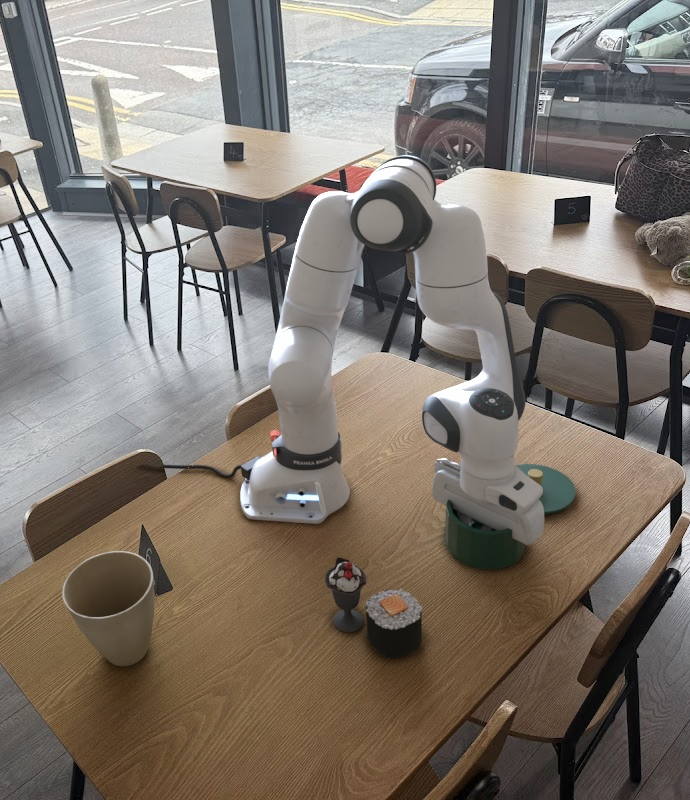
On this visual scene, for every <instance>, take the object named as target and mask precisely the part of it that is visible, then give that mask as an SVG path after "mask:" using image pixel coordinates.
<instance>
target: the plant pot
mask: <svg viewBox="0 0 690 800" xmlns="http://www.w3.org/2000/svg"><path fill="white" fill-rule="evenodd" d="M154 580H155V579H154V572H153V568H152V566H151V564H150V563H149V562H148V560H147V559H145V558H144V557H143V556H141V555H140V554H137V553H135V552H131V551H125V550H113V551H107V552H102V553H99V554H96V555H93V556H91V557H89V558H87V559H85V560H84V561H82V562H80V563H79V564H78V565H77V566H75V567H74V568H73V569H72V571H71V572H70V573H69V574H68V575H67V577H66V578H65V581H64V583H63V586H62V589H61V596H62V597H61V598H62V601H63V603H64V605H65V607H66V609H67V611H68V613H69V614H70V616H71V618H72V619H73V621H74V622H75V624H76V625H77V627H78V629H79V630H80V632H81V633H82V635H84V637H85V638H86V640H88V642H89V643H90V644H91V645H92V646H93V647H94V649H95V650H96V651H97V652H98V653H100V655H101V656H102V657H104V658H105V659H106V660H107V661H108V662H109V663H111V664H112V665H114V666H117V667H129V666H132V665H135V664H137V663H139V662H140V661H141V660H142V659H143V658H144V657H146V654H147V653H148V650H149V646H150V642H151V639H152V632H153V626H154V618H155V616H154V615H155V586H154V585H155V584H154V583H155V582H154Z"/></svg>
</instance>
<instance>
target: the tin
mask: <svg viewBox="0 0 690 800" xmlns="http://www.w3.org/2000/svg"><path fill="white" fill-rule="evenodd" d="M471 520H473V521H475V528H472V527H470V526H468V525H466V524H464V523H462V522H461V520H460V518H459V516H458V515H457V511H456V510H454V509H452V501H450V500H448V501H447V503H446V505H445V524H444V525H445V528H444V531H445V532H444V539H445V545H446V547H447V550H448V552H449V553H450V554H451V555H452V556H453V557H454V558H455V559H457V560H458V561H459V562H461V563H462V564H464V565H467V566H469V567H472V568H476V569H481V570H501V569H505V568H508V567H511V566H513V565H514V564H516V563H517V562H519V561H520V560H521V558H523V556H524V554H525V551H526V550H525V549H526V546H527V545H526V544H524V543H522V542H520V541H518V540H516V539H513V538H512V531H513V530H511V529H509V528H507V529H504V530H496V531H486V530H481V529H480V528H481V527H482V526H483V525H484V524H483V523H481V522H478V521H476V520H474V519H472V518H471Z"/></svg>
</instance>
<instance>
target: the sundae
mask: <svg viewBox="0 0 690 800" xmlns="http://www.w3.org/2000/svg"><path fill="white" fill-rule="evenodd" d="M324 583H325V586H326V587H327V588H328V589H329V590H331V593H332V598H333V600H334V603H335V605H336V607H337V608H339V609H340V610H339V611H338V612H336V613H335V615H334V616H333V624H334V626H335V627H336V629H338V630H339V631H341V632H344V633H353V632H357V631H358V630H360V629H361V628H362V627H363V624H364V618H363V616H362V614H361V613H360V612H358V611H356V610H354V609H356V608H357V607H358V605H359V604H360V601H361V600H360V599H361V593H362V589H363V588H364V587H365V586H366V585H367V575H366V573H365V572H364V571H363V569H362V568H360V567H359V566H358V565H355V564H353V563H352V562H351V560H350V559H348V558H344V557H339V556H337V557H336V559H335V564H334V566H332V567H331V568H328V569H327V571H326V573H325V576H324Z"/></svg>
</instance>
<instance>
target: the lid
mask: <svg viewBox="0 0 690 800" xmlns="http://www.w3.org/2000/svg"><path fill="white" fill-rule="evenodd" d="M516 466H517V467H518V468H519V469H520V470H521V471H522V472H523V473H524V474H526V475H527V476H528V477H529V478H531V479H532V480H533V481H535V482H536V483H538V484H539V485H540V486H541V487H542V488H543V494H542V496H541V497H540V499H539V500H540V501H541V503H542V505H543V508H544V515H552V514H557V513H560V512H563V511H564V510H566V509H567V508H569V507H570V506H571V505H572V504H573V503H574V501H575V499H576V492H577V491H576V487H575V485H574V483H573V481H572V479H570V478H569V477H568V476H567V475H566V474H565V473H563V472H561V471H559V470H557V469H555V468H553V467H549V466H547V465H542V464H534V463H522V464H516Z"/></svg>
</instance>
